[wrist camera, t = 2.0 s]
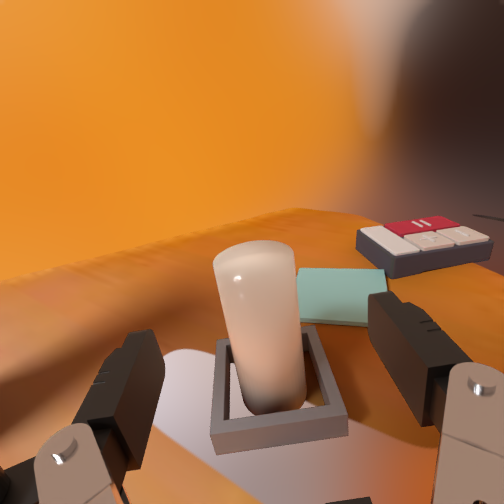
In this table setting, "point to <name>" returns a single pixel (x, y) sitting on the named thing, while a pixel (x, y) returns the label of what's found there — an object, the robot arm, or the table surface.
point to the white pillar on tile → (263, 324)
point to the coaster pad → (337, 294)
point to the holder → (281, 423)
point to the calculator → (421, 246)
